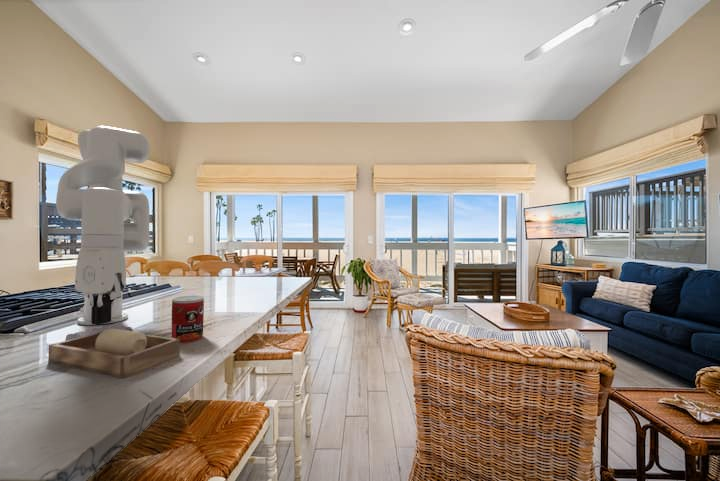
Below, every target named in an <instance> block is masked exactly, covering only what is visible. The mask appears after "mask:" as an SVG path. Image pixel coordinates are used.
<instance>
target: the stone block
mask: <svg viewBox="0 0 720 481" xmlns="http://www.w3.org/2000/svg"><path fill="white" fill-rule="evenodd" d="M112 328H113V329H121V330H127V331H134V330H133V328H132V327H130V326H127V325H124V324H118V323H117V324H111V325H105V326H100V327H96V328H93V329H90V330H84V331H78V332H75V333H68V334H67V335H66V337H65V339H64V341H67V340H71V339H75V338H79V337H83V336H87V335H91V334H95V333H98V332H102V331H105V330H107V329H112Z"/></svg>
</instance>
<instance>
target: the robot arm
mask: <svg viewBox="0 0 720 481" xmlns="http://www.w3.org/2000/svg"><path fill="white" fill-rule="evenodd" d="M77 135H78V136H77V144H78V149H79V153H80V156H81V158H82V160H83V161H80V162H79V163H76V164H74V165H73V166H71V167H69V168H68V169H67V170H66V171H64V172H63V174H62V175H61V176H60V178H59V181H58V185H57V193H56V199H55V205H56V206H55V207H56V211H57V213H58V215H59V217H61V218H63V219H65V220H69V221H81V222H80V224H81V226H80V228H81V229H80V233H81V236H80V248H79V250H78V255H77V260H76V266H75V275H74V276H75V278H74V289H75V290H76V291H77V292H78V293H82V295H83V296H84V303H83V304H84V305H83V307H81V308H80V309H79V312H80V313H83V314H82V316H81V317H78V319H77V324H78V325H82V326H98V325H99V326H100V325H107V324H114V323H119V322H122V321H125V320H126V319H128V317H129V314H128V313H126V312H123V291H125V288H126V286H127V285H126V284H127V268H126V266H127V265H126V257H125V252H126V253H127V252H143V251H145V250H147V249H148V247H149V244H150V202H149V198H148V196H147V195H146V194H144V193H143V192H139V191H133V190H125V189H123V175H125V172H126V164H125V163H133V164H143V163H145V162H146V161H148V159H149V156H150V149H151V148H150V143H149V140H148V138H147V136H146V135H144V134H143V133H141V132H138V131H134V130H133V131H132V130H127V129H122V128H117V127H111V126H105V125H100V126H99V125H98V126H94V127H92V128H90V129H84V130H81V131H80V132H78V134H77ZM85 187H86V188H85ZM83 188H84V189H83ZM127 220H130V221H132V222H125V221H127Z"/></svg>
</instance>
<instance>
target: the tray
mask: <svg viewBox="0 0 720 481" xmlns="http://www.w3.org/2000/svg"><path fill="white" fill-rule="evenodd" d="M102 332H103V331H102ZM102 332H98V333H95V334H91V335H87V336H83V337H79V338H75V339H71V340H67V341H65V340H64V341H60V342H56V343H52V344H48V364H53V365H56V366H57V365H58V366H62V367H68V368H71V369H77V370H82V371H88V372H92V373H95V374H101V375H105V376H111V377H116V378H121V379H126V378H129V377H130V376H132V375H136V374H137V373H139V372H142V371H146V370H147V369H150V368H152V367H155V366H157V365H160V364H162V363H165V362H167V361H169V360H172V359H174V358H177V357H179V356H181V354H180V352H181V350H180V349H181V343H180V339H176V338H172V337H169V336H163V335H162V336H161V335H154V334H147V333H144V334H145V336H146V338H147V345H146V348H145V350H142V351H139V352H136V353H134V354H131V355H128V356H121V355H115V354H110V353H104V352H99V351H98V350H97V349H96V346H95V343H96V339H97V337H98V336H99V335H100V334H101V333H102Z"/></svg>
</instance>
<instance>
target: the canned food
mask: <svg viewBox="0 0 720 481" xmlns="http://www.w3.org/2000/svg"><path fill="white" fill-rule="evenodd" d="M204 300H205V299H204V296H202V295H181V296H175V297H174V298H172V299H171V334H170V335H171V337H170V338H176V339H180V344H182V343H191V342H195V341H196V342H197V341H199V340H200V339H202V338H203V335H204V315H205V314H204V312H205V311H204V310H205V308H204V307H205V303H204V302H205V301H204Z"/></svg>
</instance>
